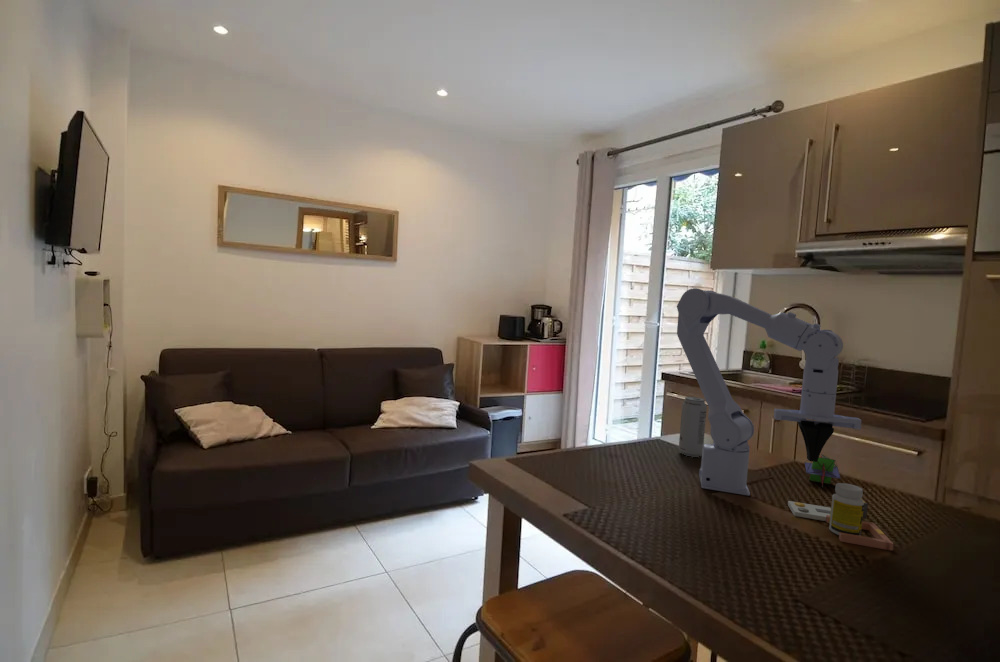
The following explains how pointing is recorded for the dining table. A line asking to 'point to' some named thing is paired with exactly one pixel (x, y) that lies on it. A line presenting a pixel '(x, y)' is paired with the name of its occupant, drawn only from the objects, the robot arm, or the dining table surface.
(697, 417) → the energy drink can
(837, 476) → the geometric puzzle
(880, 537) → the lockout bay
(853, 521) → the supplement bottle
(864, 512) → the block
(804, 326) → the robot arm
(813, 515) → the panel
